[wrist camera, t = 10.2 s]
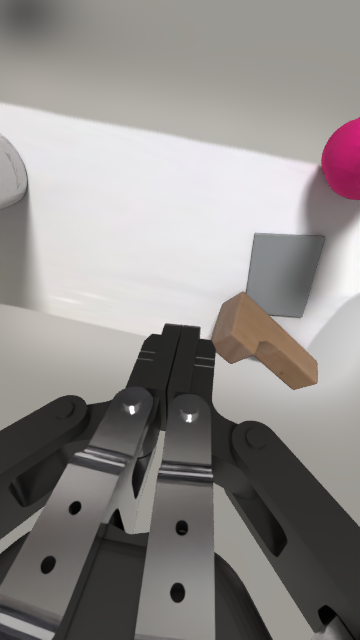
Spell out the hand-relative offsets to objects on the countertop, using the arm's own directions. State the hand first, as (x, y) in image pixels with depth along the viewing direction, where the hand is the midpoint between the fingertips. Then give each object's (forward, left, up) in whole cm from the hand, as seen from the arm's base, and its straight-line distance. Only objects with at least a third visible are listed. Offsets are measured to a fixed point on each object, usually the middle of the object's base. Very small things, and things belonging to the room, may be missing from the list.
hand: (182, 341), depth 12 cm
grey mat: (+9, -11, -29) cm, 32 cm away
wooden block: (+2, -15, -24) cm, 28 cm away
